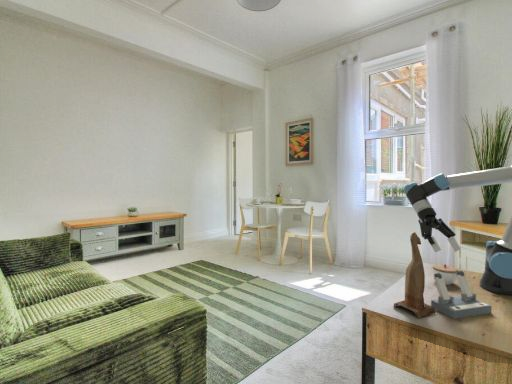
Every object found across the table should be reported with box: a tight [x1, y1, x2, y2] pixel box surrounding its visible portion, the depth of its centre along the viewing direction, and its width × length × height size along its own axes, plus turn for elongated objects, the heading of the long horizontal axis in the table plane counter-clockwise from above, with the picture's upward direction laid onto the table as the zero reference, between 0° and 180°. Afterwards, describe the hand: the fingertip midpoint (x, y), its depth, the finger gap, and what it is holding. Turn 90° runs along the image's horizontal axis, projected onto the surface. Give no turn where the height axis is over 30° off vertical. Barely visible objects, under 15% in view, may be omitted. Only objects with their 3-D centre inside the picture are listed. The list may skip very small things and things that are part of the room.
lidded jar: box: [432, 264, 459, 286], centre depth 142 cm, size 11×11×9 cm
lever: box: [433, 273, 451, 303], centre depth 114 cm, size 3×4×12 cm
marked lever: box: [456, 269, 474, 299], centre depth 117 cm, size 3×4×12 cm
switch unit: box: [430, 291, 492, 320], centre depth 112 cm, size 10×19×6 cm, turn 105°
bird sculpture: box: [393, 231, 436, 320], centre depth 112 cm, size 11×12×32 cm
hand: (448, 250), depth 125 cm, fingers open, 13 cm apart
